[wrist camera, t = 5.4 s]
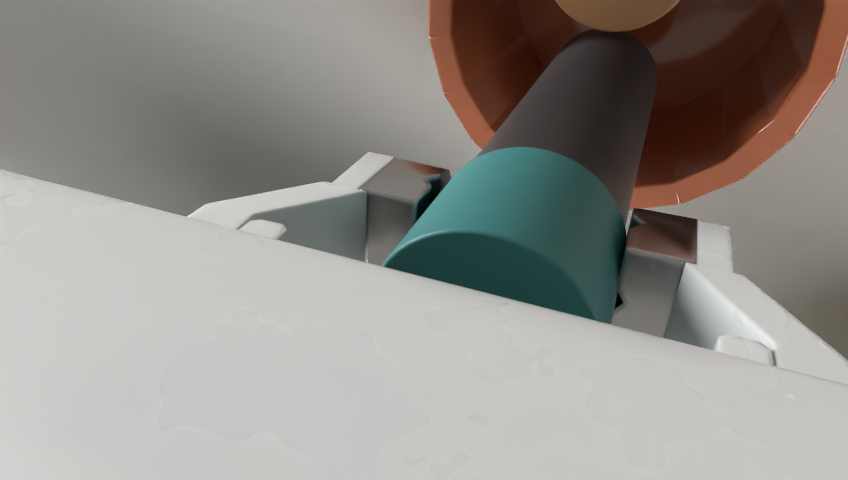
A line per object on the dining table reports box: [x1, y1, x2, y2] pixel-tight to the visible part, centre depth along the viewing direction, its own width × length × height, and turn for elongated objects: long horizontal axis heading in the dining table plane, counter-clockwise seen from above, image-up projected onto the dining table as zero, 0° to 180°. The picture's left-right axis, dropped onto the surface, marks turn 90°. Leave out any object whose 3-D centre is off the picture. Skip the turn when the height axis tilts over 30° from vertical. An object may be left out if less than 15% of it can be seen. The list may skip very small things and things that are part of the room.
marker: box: [381, 29, 657, 324], centre depth 14 cm, size 3×3×13 cm
